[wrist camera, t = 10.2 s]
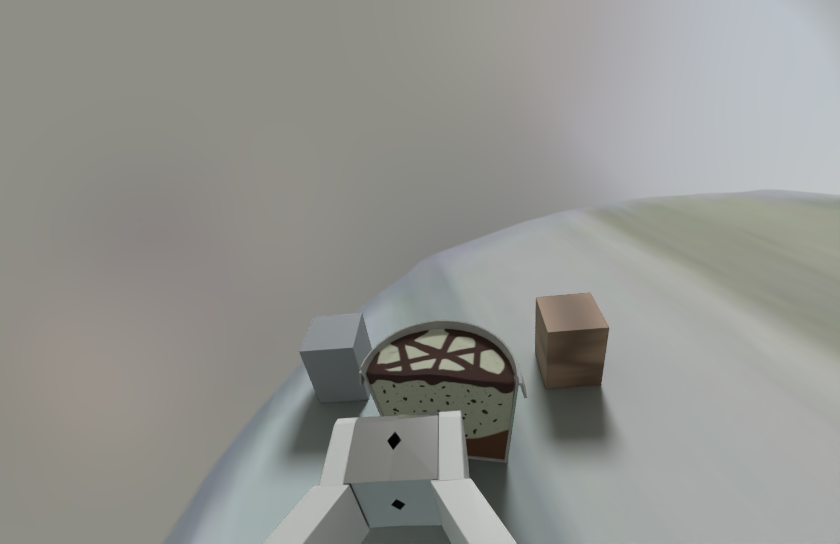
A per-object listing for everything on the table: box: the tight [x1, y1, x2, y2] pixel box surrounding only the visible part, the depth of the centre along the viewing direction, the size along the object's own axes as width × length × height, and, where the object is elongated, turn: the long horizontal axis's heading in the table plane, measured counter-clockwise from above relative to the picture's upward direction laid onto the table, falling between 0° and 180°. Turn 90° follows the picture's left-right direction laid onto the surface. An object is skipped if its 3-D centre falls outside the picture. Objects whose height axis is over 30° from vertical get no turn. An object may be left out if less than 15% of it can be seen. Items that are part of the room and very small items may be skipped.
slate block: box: [299, 313, 372, 403], centre depth 40 cm, size 5×5×7 cm
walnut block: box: [535, 293, 609, 389], centre depth 38 cm, size 5×5×7 cm
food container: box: [359, 320, 527, 463], centre depth 33 cm, size 12×6×10 cm, turn 78°
